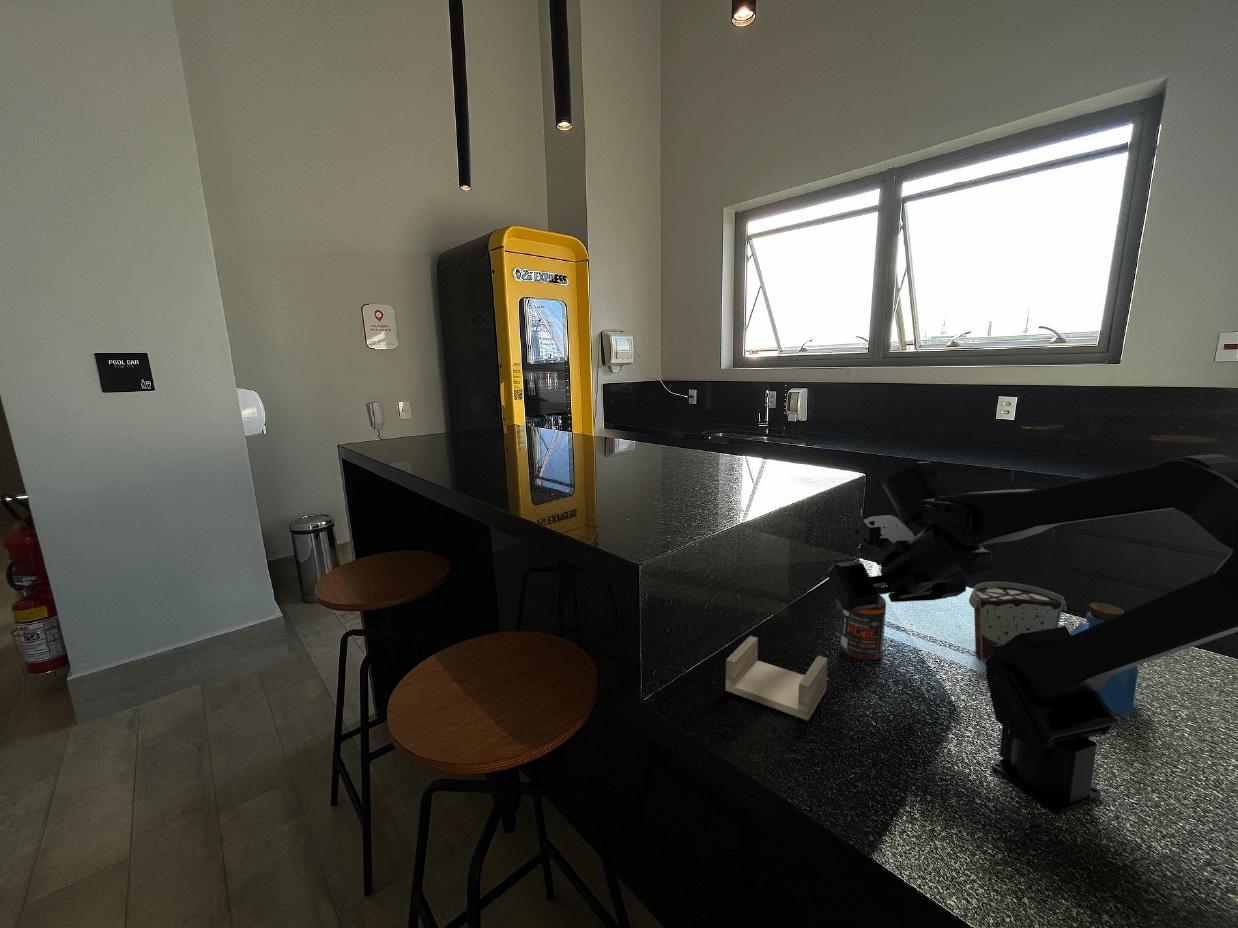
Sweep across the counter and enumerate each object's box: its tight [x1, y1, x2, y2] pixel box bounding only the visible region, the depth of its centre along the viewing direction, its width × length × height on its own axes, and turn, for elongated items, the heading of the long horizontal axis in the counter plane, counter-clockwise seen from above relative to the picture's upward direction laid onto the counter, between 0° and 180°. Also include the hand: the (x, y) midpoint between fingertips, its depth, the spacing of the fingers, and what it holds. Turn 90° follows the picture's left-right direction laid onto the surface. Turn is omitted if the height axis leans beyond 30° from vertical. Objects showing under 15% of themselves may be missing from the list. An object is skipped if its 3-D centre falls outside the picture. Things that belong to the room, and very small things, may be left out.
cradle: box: [725, 635, 828, 721], centre depth 69 cm, size 11×8×4 cm
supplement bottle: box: [839, 587, 887, 661], centre depth 77 cm, size 6×6×11 cm
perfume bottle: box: [1069, 602, 1139, 717], centre depth 66 cm, size 6×6×12 cm
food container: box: [968, 581, 1068, 661], centre depth 77 cm, size 12×6×10 cm, turn 84°
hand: (864, 602), depth 77 cm, fingers open, 9 cm apart
